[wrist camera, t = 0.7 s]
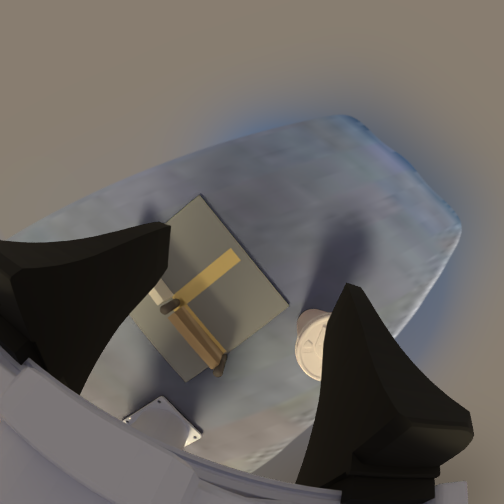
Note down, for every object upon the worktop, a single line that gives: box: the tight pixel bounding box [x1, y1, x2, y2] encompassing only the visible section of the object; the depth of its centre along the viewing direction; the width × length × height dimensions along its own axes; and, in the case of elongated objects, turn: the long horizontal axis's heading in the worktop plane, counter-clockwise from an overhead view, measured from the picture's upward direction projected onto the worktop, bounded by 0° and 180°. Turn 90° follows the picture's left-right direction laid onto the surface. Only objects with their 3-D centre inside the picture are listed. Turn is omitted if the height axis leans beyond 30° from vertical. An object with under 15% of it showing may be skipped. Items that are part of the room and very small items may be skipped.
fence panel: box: [148, 279, 174, 305], centre depth 31 cm, size 8×1×4 cm, turn 39°
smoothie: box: [295, 309, 332, 381], centre depth 26 cm, size 6×6×14 cm
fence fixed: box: [160, 298, 227, 377], centre depth 31 cm, size 1×10×5 cm, turn 39°
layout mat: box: [129, 195, 289, 382], centre depth 33 cm, size 16×16×1 cm
